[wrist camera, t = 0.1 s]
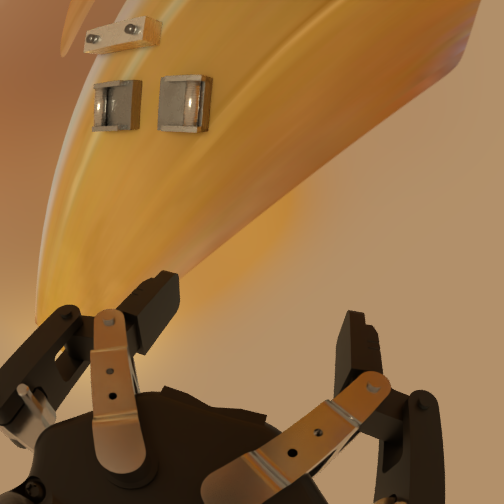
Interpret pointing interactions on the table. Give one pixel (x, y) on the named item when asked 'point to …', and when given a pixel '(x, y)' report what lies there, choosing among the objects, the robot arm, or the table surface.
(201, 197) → the table surface
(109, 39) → the metal block with bolts
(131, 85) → the chain ends
